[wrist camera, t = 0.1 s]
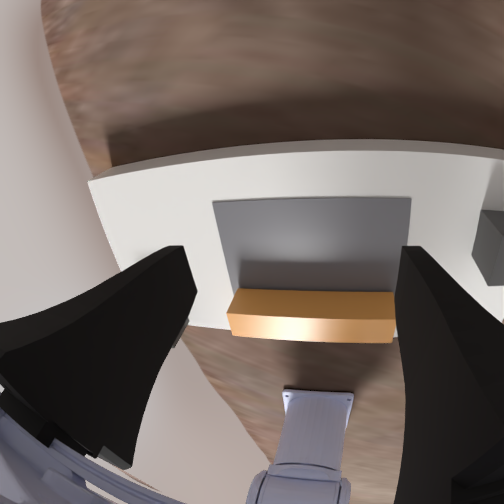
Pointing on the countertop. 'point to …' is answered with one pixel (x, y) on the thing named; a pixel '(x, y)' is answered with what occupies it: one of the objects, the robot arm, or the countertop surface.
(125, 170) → the board
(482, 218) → the plug
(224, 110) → the countertop surface
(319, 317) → the switch
